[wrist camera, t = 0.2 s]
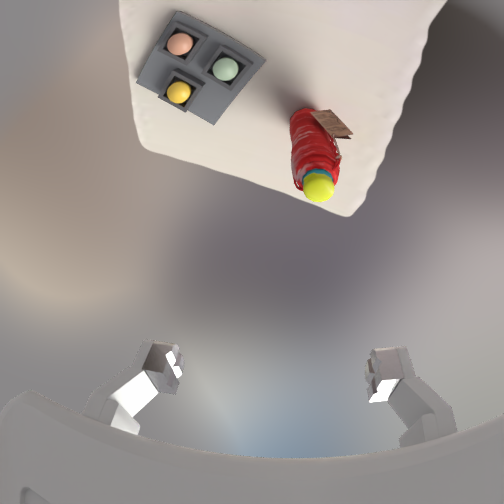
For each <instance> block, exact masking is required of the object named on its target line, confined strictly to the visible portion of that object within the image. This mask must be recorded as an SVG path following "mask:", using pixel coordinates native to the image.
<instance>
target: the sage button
mask: <svg viewBox="0 0 504 504" xmlns="http://www.w3.org/2000/svg"><path fill="white" fill-rule="evenodd" d="M238 70H239V65H238V63H237V61H236V60H235V59H233V58H230V57H224V58H221V59H219V60H218V61H217V62H216V63H215V64H214V66H213V73H214V75H215V76H216V77H217V78H218V79H220V80H224V81H226V80H230V79H232V78H234V77H235V76H236V74H237V73H238Z"/></svg>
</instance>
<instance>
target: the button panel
mask: <svg viewBox="0 0 504 504" xmlns="http://www.w3.org/2000/svg"><path fill="white" fill-rule="evenodd" d="M178 33H188V34H190V35H191V36H192V38H193V40H194V45H193V47H192V49H191V50H190V51H188V52H186V53H184V54H182V55H175V54H172V53H171V52H170V51H169V50H168V47H167V43H168V40H169V39H170V37H172V36H173V35H175V34H178ZM224 57H230V58H233V59H235V60H236V61H237V63H238V65H239V70H238V73H237V74H236V76H235V77H234V78H232V79H230V80H226V81H224V80H220V79H218V78H217V77H216V76H215V75H214V73H213V66H214V64H215V63H216V62H217V61H218V60H219V59H221V58H224ZM265 62H266V59H265V58H264V57H262V56H260V55H259V54H257V53H256V52H254V51H253V50H251V49H250V48H248V47H246V46H245V45H243V44H242V43H240V42H238V41H237V40H235V39H233V38H232V37H230V36H228V35H226V34H225V33H223V32H221V31H219V30H217V29H215V28H214V27H212V26H210V25H208V24H206V23H204V22H202V21H200V20H198V19H196V18H194V17H192V16H190V15H188V14H185V13H183V12H181V11H177V12H176V13H175V15H174V16H173V18H172V19H171V21H170V22H169V24H168V26H167V27H166V29H165V30H164V32H163V34H162V35H161V37H160V39H159V40H158V42H157V44H156V45H155V47H154V49H153V51H152V52H151V54H150V56H149V58H148V60H147V62H146V64H145V65H144V67H143V69H142V71H141V73H140V75H139V77H138V79H137V81H136V83H137V84H139V85H141V86H143V87H145V88H147V89H149V90H151V91H153V92H155V93H157V94H159V96H158V98H160V99H162V100H164V101H166V102H167V103H169V104H171V105H173V106H175V107H177V108H178V109H180V110H182V111H184V112H186V111H187V110H188V111H190V112H192V113H194V114H195V115H197V116H199V117H200V118H202V119H204V120H206V121H207V122H209V123H211V124H212V125H215V123H216V122H217V121H218V119H219V118H220V117H221V115H222V114H223V113H224V111H225V110H226V109H227V107H228V106H229V105H230V104H231V102H232V101H233V100H234V98H235V97H236V96H237V95H238V93H239V92H240V91H241V90H242V89H243V87H244V86H245V85H246V84H247V82H248V81H249V80H250V79H251V78H252V76H253V75H254V74H255V73H256V72H257V71H258V69H259V68H260V67H261V66H262V65H263V64H264V63H265ZM179 80H182V81H186V82H187V83H189V84H190V86H191V89H192V92H191V95H190V96H189V97H188V98H187V100H186V101H184V102H182V103H174V102H172V101H171V100H170V99H169V98H168V96H167V90H168V88H169V87H170V86H171V85H172V84H173V83H174V82H176V81H179Z"/></svg>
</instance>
